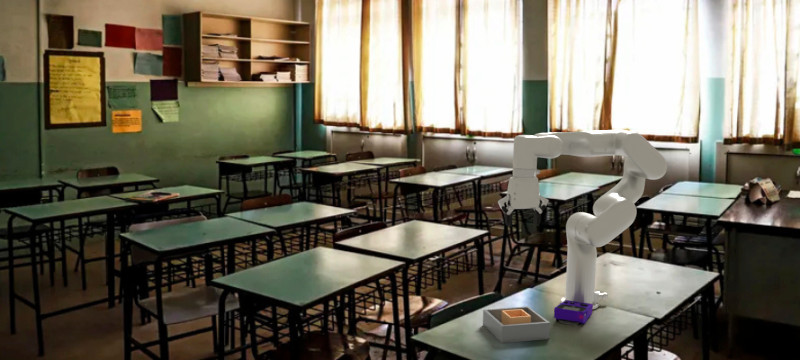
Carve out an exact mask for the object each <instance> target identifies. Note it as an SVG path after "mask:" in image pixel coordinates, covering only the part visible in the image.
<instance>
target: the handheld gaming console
mask: <svg viewBox="0 0 800 360" xmlns="http://www.w3.org/2000/svg"><path fill="white" fill-rule="evenodd" d="M593 310H594V309H593V304H589V303H582V302H576V301H569V300H565V301H563V302H562V303H561V302H560V303H559V304H558V305H557V306H555V307H554V309H553V319H555V320H558V323H560V324H565V325H570V326H579V325H580V324H582V325H583V324H584V325H585V324H586V322H587V321H588V318H590V317H591V316H592V313H593Z"/></svg>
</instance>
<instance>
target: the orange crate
mask: <svg viewBox="0 0 800 360" xmlns="http://www.w3.org/2000/svg"><path fill="white" fill-rule="evenodd" d="M501 323H502V324H503V325H512V324H525V323H531V316H530V315H529V314H528V313H526V312H525V311H524V310H522V309H516V310H503V311H502V315H501Z"/></svg>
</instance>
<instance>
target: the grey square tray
mask: <svg viewBox="0 0 800 360" xmlns="http://www.w3.org/2000/svg"><path fill="white" fill-rule="evenodd" d="M516 309H522V310H524V311H525V312H526V313H528V314H529V315H530V316H531V323H525V324H512V325H503V324H502V323H501V315H502V311H503V310H516ZM482 312H483V313H482V326H483V325H484V326H485V327H486V328H487V329H488V330H487V329H486V328H485V327H484V326H483V327H484V328H485V329H486V330H487V331H488V332H489V333H491V335H493V337H495V339H497V340H498V341H499V342H500V343H501V344H504V343H515V342H517V343H518V342H519V343H520V342H527V341H528V342H530V341H539V340H550V331H551V322H550V321H549V320H547V319H546V318H545V317H543V316H542V315H540V314H539V313H538V312H536V310H534V309H532V308H531V307H530V306H529V305H528V306H515V307H512V306H511V307H502V308H500V307H499V308H488V309H485V308H484V309H483V310H482Z"/></svg>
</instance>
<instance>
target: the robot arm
mask: <svg viewBox="0 0 800 360" xmlns="http://www.w3.org/2000/svg"><path fill="white" fill-rule="evenodd" d="M512 151H513V153H512V154H513V157H512V176H511V177H509V180H508V185H507V191H506V195H505V196H504V197H503V198H500V199H499V200H498V201H497V204H498V205H499V208H500V209H501V210H502V212H503V213H504V214H505V215H504V223H505V225H506V226H507V227H510V228H511V227H512V225H513V215H512V212H513V211H514V210H522V209H526V210H527V209H533V210H534V211H533V215H532V216H533V221H532V224H533V225H535V226H540V223H541V214H542V213H543V211H544V210H545V209H546V208H547V205H548V203H549V201H550V200H549V199H547V198H546V197H544V196H542V195H541V194H540V191H541V190H540V182H539V178H538V177H537V175H540V174H541V170H540V169H538V168H537V165H538V164H537V163H538V158H544V159H556V158H558V157H559V156H561V155H565V156H566V155H567V156H568V155H569V156H575V157H583V158H590V157H594V158H595V157H608V156H609V157H610V156H621V157H626V158H625V160H624V162H623V163H624V165H623V175H622V178H621V180H620V181H619V182H618V183H617V184H615V186H613V187H612V188H611V189H609V190H608V191H607V192H605V193H604V194H602V195H601V196H600V197H599V198H598V199H596V201H595V202H594V204H593V206H592V211H593V214H594V215H593V214H591V213H587V212H584V211H582V212H581V211H580V212H579V211H578V212H575V213H572V214H571V215H570V216H569V217H568V219H567V221H566V224H565V232H566V240H567V242H566V243H567V256H566V257H567V258H566V274H565V275H566V276H565V277H566V278H565V279H566V280H565V296H563V297H561V298H560V304H561V303H562V302H563V301H565V300H569V301H576V302H582V303H589V304H593V309H592V310H596V309H597V308H598V307H599V306H600V305H599V304H600V302H599V300H603V299H604V300H605V299H608V295H609V294H608V293H607V292H600V291H596V273H597V261H598V260H597V257H598V255H597V253H598V252H597V248H600V247H603V246H606V245H607V244H608V243H610V242H611V241H612V240H614V239H615V238H616V237H618V236H619V235H620V234H622V233H623V232H624V231H626V230H627V229H628V228H629V227H630V226H631V225H632V224H633V223H634V222H635V220H636V217H637V207H636V205H635V204H636V203H637V201H638V200H639V199H641V198H642V196H643V194H644V191H645V185H646V180H647V179H648V180H653V181H654V180H659V179H661V178H663V177H664V176H665V175H666V173H667V169H668V164H667V163H668V162H667V161H666V159H665V157H664V156H663V155H662V153H660V152H659V151H658V150H657V149H656V148H655V147H654V146H653V145H652V144H651V143H650V142H649V141H648V140H647V139H646V138H645V137H644V136H643V135H642V134H641V133H639V132H637V131H634V130H626V129H625V130H624V129H607V130H605V129H603V130H582V131H579V130H578V131H565V132H564V131H561V132H558V131H557V132H556V131H555V132H539V133H535V134H534V135H531V134H519V135H515V137H514V138H513V150H512ZM540 201H542V202H541V203H540ZM505 204H506V206H505Z"/></svg>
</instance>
